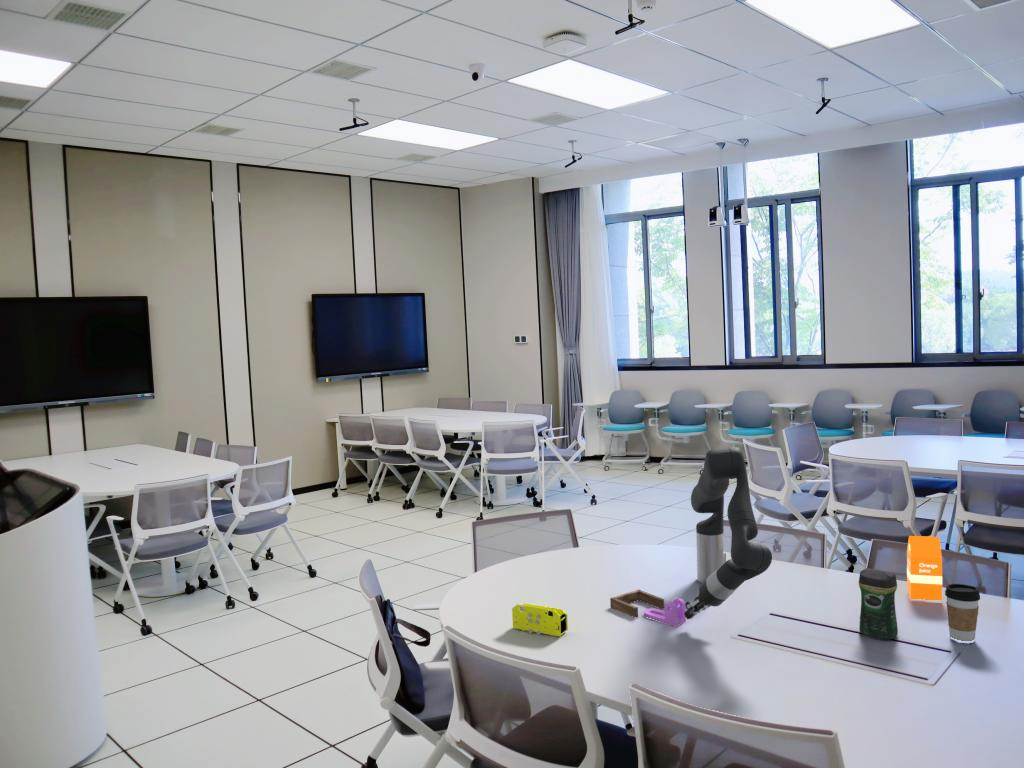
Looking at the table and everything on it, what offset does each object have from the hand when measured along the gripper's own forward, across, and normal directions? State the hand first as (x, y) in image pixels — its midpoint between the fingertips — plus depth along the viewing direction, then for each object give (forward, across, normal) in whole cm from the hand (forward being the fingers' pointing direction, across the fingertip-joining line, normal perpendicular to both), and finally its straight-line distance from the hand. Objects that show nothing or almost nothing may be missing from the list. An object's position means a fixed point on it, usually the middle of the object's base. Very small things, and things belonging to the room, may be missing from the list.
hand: (687, 616), depth 228 cm
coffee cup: (-35, -52, +40) cm, 74 cm away
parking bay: (+18, 0, -13) cm, 22 cm away
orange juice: (-18, -75, +24) cm, 81 cm away
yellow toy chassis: (+21, +35, -16) cm, 44 cm away
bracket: (+10, 0, -4) cm, 11 cm away
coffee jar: (-23, -38, +29) cm, 53 cm away
